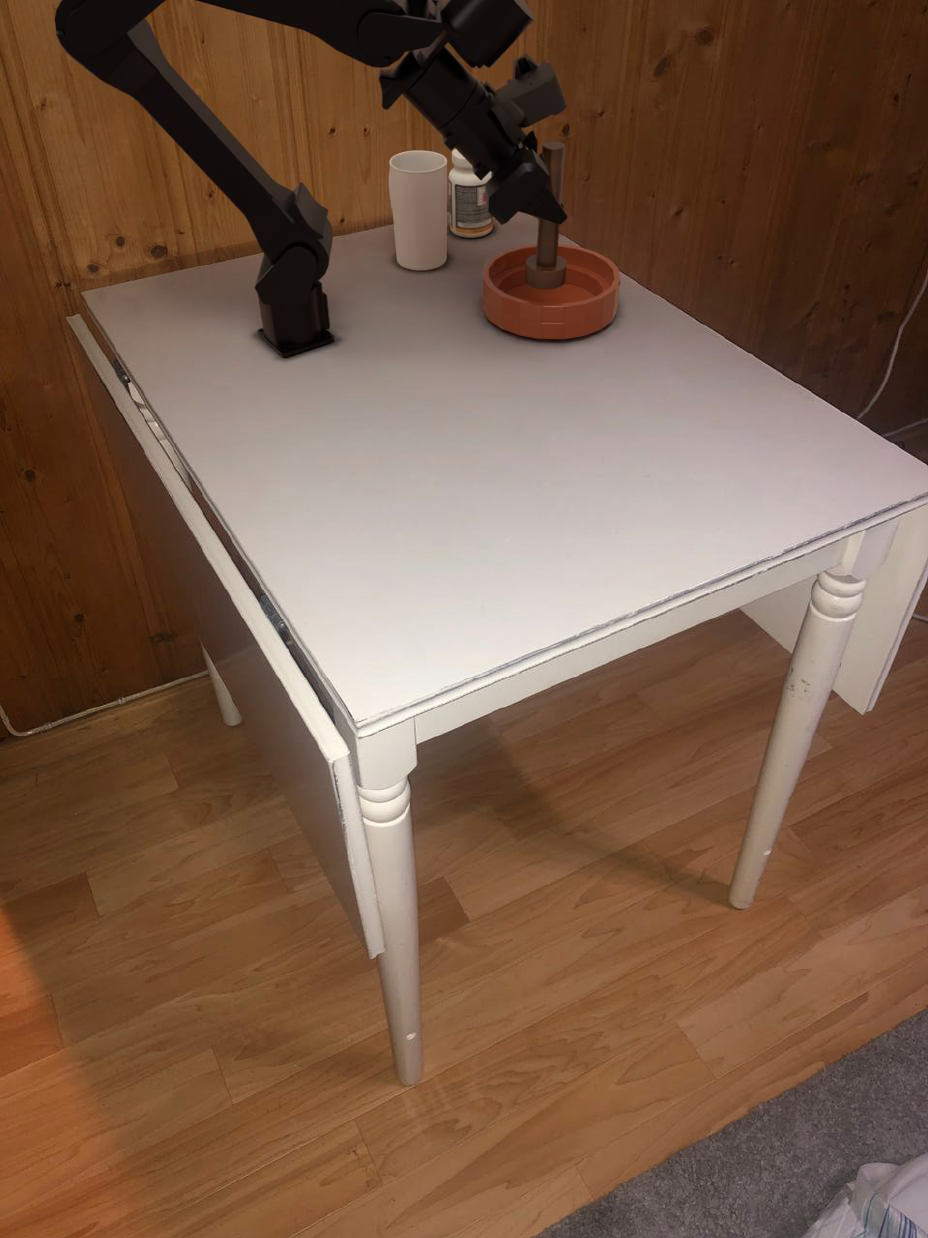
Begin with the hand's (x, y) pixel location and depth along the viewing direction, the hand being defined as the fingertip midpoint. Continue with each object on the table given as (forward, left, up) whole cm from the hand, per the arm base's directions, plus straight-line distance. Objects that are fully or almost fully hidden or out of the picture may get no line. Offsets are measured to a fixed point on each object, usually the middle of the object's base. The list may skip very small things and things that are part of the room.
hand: (562, 215), depth 105 cm
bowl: (+2, +4, -13) cm, 14 cm away
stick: (-1, +1, -7) cm, 7 cm away
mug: (-3, +25, -13) cm, 29 cm away
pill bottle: (+7, +27, -13) cm, 31 cm away
